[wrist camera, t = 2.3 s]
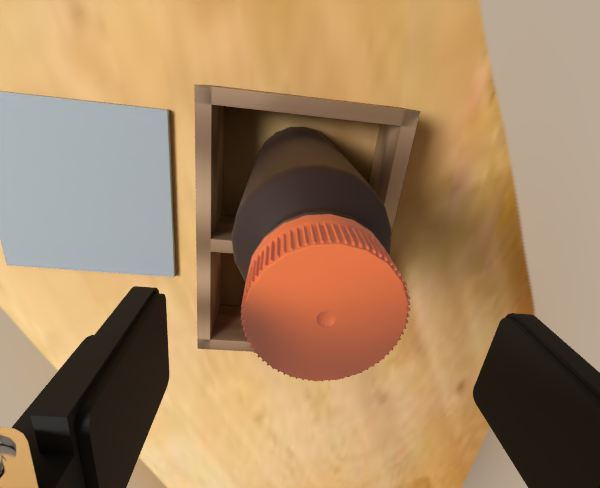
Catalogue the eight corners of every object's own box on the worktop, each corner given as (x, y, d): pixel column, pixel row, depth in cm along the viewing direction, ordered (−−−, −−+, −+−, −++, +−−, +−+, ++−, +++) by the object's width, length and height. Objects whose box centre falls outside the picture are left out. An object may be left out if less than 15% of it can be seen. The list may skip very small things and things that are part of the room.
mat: (-34, 87, 25) (-39, 87, 24) (169, 109, 26) (167, 110, 25) (11, 262, 30) (7, 265, 30) (175, 274, 32) (174, 277, 31)
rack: (210, 85, 25) (194, 84, 21) (396, 107, 27) (420, 111, 22) (209, 313, 33) (197, 348, 29) (352, 321, 35) (362, 357, 30)
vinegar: (239, 153, 27) (154, 283, 9) (314, 108, 26) (388, 154, 8) (282, 223, 30) (283, 432, 12) (353, 185, 29) (474, 350, 11)
